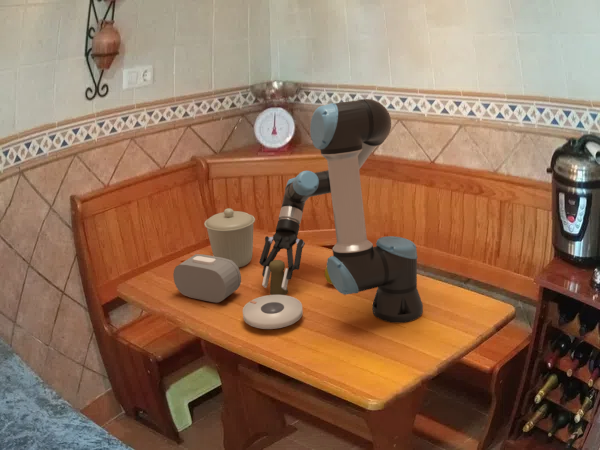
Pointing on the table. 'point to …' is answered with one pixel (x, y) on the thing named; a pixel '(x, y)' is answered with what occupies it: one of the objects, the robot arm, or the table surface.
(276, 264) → the cork
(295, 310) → the turntable
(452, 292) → the table surface
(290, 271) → the robot arm
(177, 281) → the alarm clock
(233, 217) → the canister
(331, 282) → the lemon
